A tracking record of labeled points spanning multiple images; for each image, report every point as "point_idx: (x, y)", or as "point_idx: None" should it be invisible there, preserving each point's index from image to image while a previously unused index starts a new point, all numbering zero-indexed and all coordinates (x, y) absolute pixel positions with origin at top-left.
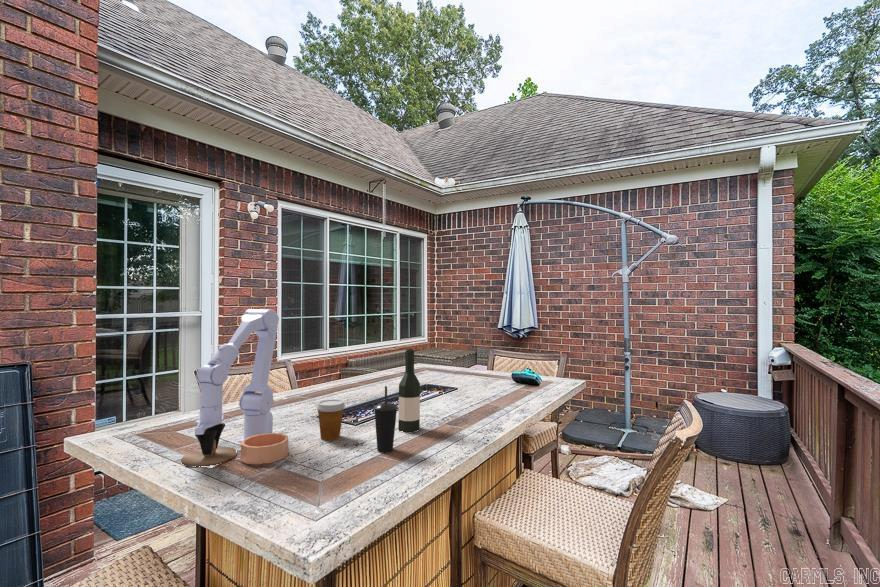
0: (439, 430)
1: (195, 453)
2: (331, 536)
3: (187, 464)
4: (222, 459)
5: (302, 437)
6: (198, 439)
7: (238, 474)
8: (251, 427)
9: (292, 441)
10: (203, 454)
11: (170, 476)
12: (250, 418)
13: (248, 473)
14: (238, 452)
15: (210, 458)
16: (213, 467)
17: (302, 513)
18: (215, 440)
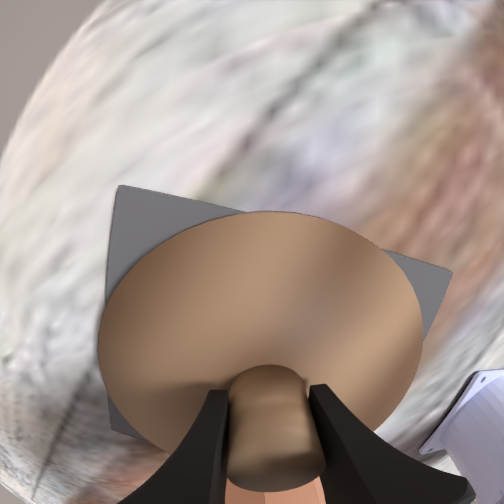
0: None
1: (316, 285)
2: (20, 497)
3: (102, 320)
4: None
5: None
6: (141, 486)
7: (104, 476)
8: (473, 467)
9: None
10: (208, 394)
11: (17, 271)
12: (495, 492)
13: (118, 489)
14: None
15: (195, 416)
16: (120, 429)
17: (35, 498)
18: (285, 489)
